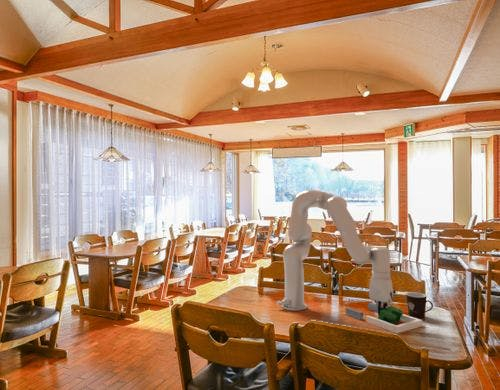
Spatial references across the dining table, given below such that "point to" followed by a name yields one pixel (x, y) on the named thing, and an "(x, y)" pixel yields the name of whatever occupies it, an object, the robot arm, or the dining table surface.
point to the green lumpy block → (390, 314)
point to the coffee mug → (417, 304)
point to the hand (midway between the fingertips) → (381, 315)
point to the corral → (403, 327)
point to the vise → (359, 314)
